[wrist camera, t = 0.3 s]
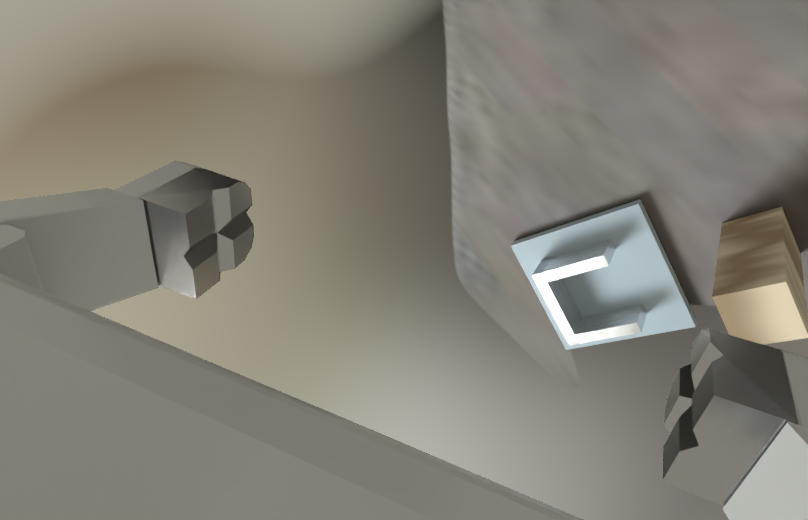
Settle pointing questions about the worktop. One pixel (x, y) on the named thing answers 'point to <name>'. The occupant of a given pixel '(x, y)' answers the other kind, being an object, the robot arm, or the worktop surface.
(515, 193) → the worktop surface
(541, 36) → the worktop surface
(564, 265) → the slot bracket
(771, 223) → the beech post
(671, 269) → the base plate
